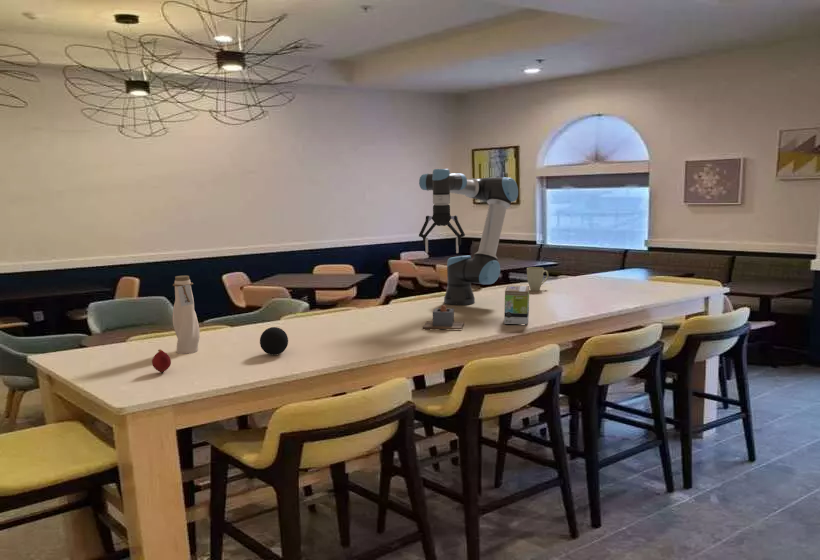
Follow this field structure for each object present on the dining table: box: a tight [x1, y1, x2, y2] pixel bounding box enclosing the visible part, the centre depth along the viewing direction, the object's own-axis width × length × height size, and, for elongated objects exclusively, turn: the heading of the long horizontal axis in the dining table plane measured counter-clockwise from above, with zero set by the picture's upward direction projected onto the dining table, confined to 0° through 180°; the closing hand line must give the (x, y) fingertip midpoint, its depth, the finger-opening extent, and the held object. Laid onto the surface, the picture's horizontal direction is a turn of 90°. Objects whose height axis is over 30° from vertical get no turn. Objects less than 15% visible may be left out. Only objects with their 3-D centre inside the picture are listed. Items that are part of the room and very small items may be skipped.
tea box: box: [503, 285, 530, 325], centre depth 289 cm, size 15×10×15 cm, turn 168°
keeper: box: [421, 304, 465, 331], centre depth 282 cm, size 12×16×9 cm
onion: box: [151, 348, 172, 373], centre depth 223 cm, size 6×6×8 cm
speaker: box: [259, 326, 289, 356], centre depth 243 cm, size 10×10×10 cm
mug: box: [526, 266, 549, 292], centre depth 366 cm, size 11×10×12 cm
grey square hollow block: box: [432, 307, 455, 327], centre depth 282 cm, size 8×8×6 cm
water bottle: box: [172, 275, 201, 354], centre depth 248 cm, size 10×9×28 cm
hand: (442, 252), depth 299 cm, fingers open, 13 cm apart
